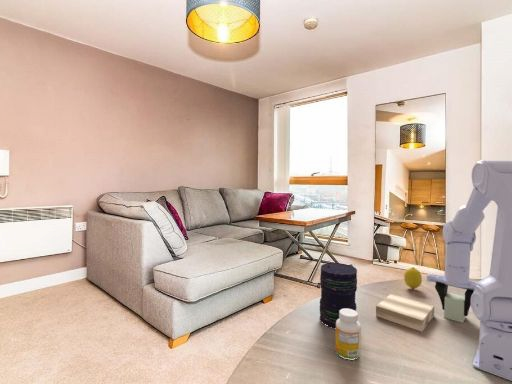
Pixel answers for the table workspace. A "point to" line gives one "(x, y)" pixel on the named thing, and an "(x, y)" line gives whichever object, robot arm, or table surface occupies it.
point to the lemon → (413, 278)
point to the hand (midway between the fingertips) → (455, 311)
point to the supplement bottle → (348, 334)
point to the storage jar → (336, 291)
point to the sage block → (454, 307)
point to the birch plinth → (405, 312)
